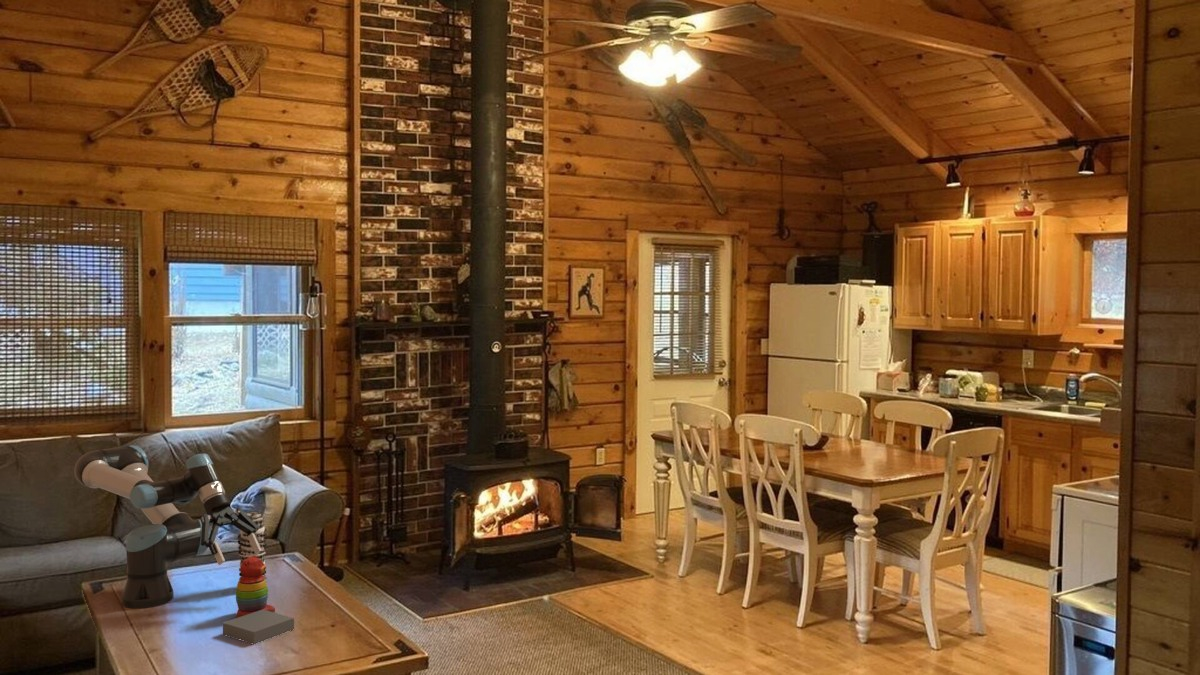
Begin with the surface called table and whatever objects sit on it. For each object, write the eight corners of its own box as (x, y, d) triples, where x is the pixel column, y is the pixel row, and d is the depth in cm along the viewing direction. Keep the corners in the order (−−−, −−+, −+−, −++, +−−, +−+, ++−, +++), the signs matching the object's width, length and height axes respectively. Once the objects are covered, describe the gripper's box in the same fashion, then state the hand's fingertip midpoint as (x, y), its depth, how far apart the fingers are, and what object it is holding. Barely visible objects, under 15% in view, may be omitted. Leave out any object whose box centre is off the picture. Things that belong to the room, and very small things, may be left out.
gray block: (222, 636, 284) (222, 622, 284) (262, 622, 296) (262, 609, 295) (254, 646, 276) (254, 632, 276) (294, 631, 288) (294, 618, 288)
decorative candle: (273, 586, 329) (272, 513, 327) (250, 594, 321) (249, 518, 319) (255, 582, 334) (254, 509, 332) (232, 589, 326) (231, 514, 324)
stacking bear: (258, 621, 295) (257, 563, 294) (228, 619, 297) (227, 561, 296) (277, 610, 305) (276, 553, 304) (248, 607, 307) (247, 551, 306)
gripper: (185, 500, 302) (211, 561, 296) (253, 486, 323) (279, 543, 317) (173, 512, 306) (199, 572, 300) (241, 497, 326) (267, 553, 321)
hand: (240, 557), depth 308 cm, fingers open, 13 cm apart
